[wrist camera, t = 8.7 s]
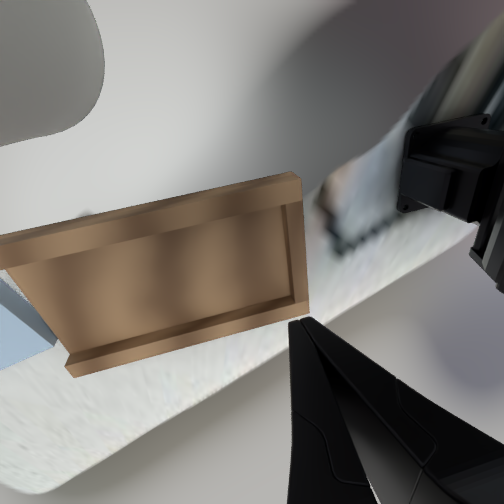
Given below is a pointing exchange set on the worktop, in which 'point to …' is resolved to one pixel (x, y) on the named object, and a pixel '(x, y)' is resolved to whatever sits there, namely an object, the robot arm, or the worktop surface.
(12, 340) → the blue mattress with pillow
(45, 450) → the worktop surface
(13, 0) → the mug
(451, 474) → the robot arm
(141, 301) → the brown flat wooden tray
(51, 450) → the worktop surface
